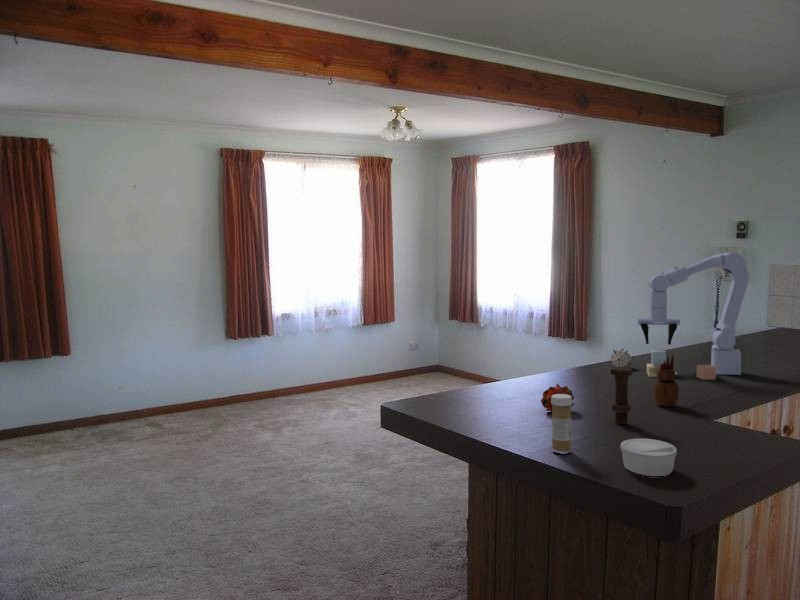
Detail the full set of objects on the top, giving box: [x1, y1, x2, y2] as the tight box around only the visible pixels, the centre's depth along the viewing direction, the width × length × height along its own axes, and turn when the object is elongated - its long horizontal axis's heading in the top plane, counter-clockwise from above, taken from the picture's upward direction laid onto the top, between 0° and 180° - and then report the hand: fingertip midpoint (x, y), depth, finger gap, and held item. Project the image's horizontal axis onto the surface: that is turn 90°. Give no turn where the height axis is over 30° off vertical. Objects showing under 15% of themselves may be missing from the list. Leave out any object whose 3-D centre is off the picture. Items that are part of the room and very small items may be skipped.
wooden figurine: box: [653, 355, 680, 408], centre depth 184 cm, size 7×6×15 cm
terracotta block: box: [695, 364, 717, 380], centre depth 217 cm, size 4×4×5 cm
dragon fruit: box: [540, 383, 575, 412], centre depth 181 cm, size 8×8×12 cm
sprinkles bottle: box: [551, 394, 573, 452], centre depth 145 cm, size 5×5×14 cm
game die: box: [607, 348, 635, 368], centre depth 238 cm, size 9×8×10 cm
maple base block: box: [646, 363, 660, 378], centre depth 224 cm, size 7×7×4 cm
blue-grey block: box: [650, 349, 667, 366], centre depth 225 cm, size 4×4×5 cm
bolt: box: [610, 366, 633, 425], centre depth 167 cm, size 6×5×15 cm
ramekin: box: [620, 437, 678, 477], centre depth 133 cm, size 11×11×5 cm
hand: (658, 344), depth 233 cm, fingers open, 7 cm apart
